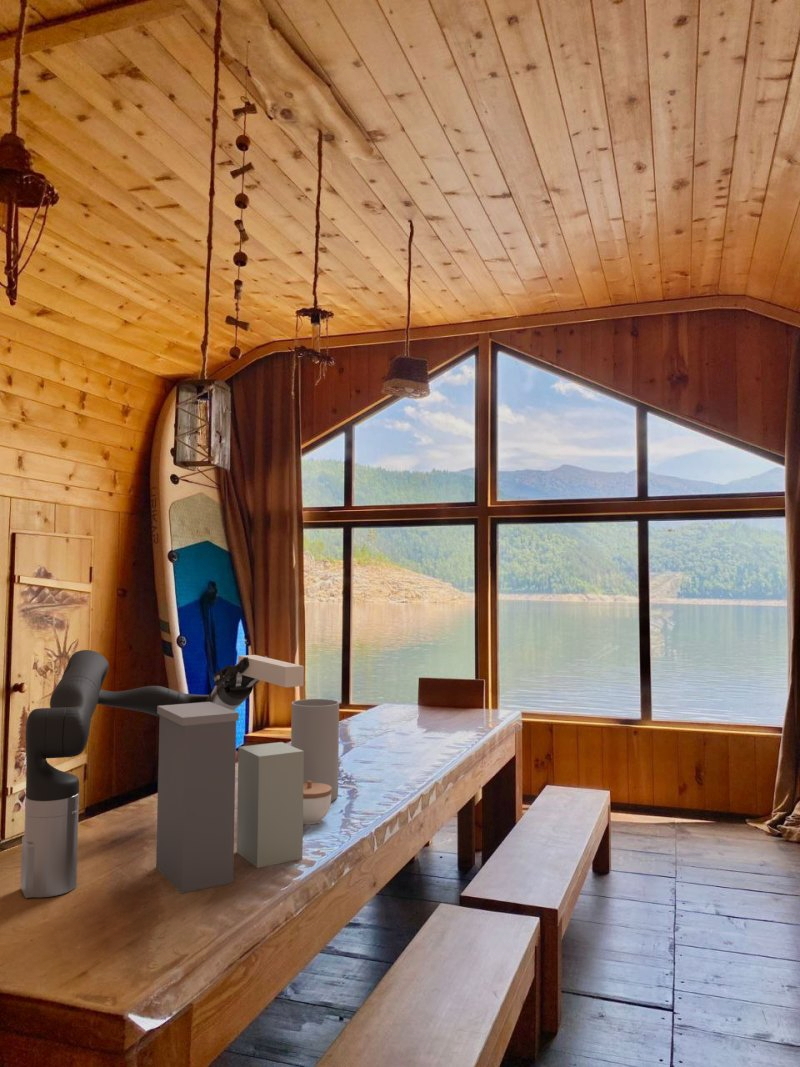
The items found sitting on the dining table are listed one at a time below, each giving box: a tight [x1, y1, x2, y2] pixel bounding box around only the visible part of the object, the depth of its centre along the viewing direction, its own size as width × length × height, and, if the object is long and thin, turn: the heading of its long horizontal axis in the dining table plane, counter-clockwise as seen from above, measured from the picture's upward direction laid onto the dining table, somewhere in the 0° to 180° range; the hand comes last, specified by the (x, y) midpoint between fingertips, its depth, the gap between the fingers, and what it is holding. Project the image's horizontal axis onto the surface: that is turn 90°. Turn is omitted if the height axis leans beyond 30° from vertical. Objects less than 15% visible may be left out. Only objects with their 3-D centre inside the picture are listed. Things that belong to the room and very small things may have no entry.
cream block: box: [237, 654, 305, 688], centre depth 173 cm, size 4×25×4 cm, turn 33°
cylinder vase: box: [290, 698, 340, 802], centre depth 215 cm, size 12×12×25 cm
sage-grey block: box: [236, 741, 304, 868], centre depth 171 cm, size 10×11×22 cm
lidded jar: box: [303, 781, 332, 825], centre depth 195 cm, size 11×11×9 cm
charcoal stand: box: [155, 702, 240, 894], centre depth 160 cm, size 11×16×32 cm
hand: (257, 660), depth 179 cm, fingers closed on cream block, 4 cm apart
